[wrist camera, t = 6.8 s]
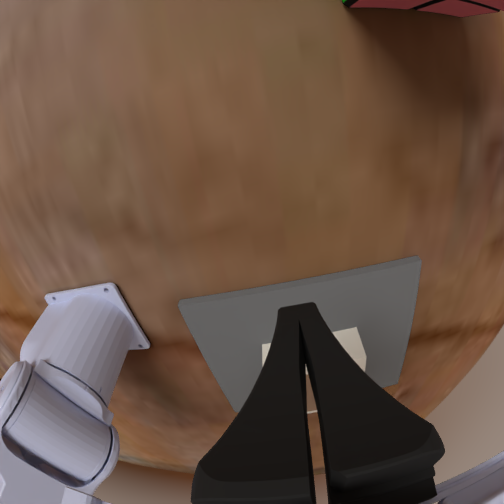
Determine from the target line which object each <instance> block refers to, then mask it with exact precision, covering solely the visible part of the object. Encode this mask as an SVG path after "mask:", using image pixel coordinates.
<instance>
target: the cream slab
mask: <svg viewBox="0 0 504 504" xmlns="http://www.w3.org/2000/svg"><path fill="white" fill-rule="evenodd" d="M332 333H333V334H334V336H335V337H336V338H337V340H338V341H339V343H340V344H341V345H342V347H343V348H344V349H345V350H346V352H347V353H348V354H349V355H350V356H351V358H352V359H353V360H354V361H355V362H356V363H357V364H358V365H359V367H360V368H361V369H362V370H363V371H364V372H365V367H366V354H365V351H364V348H363V345H362V342H361V339H360V336H359V333H358V330H357V327H354V328H350V329H345V330H340V331H335V332H332ZM270 345H271V343H268V344H262V364H263V365H264V362H265V360H266V357H267V355H268V352H269V349H270ZM306 389H307V413H313V412H317V408H316V404H315V400H314V395H313V391H312V387H311V383H310V379H309V375H308V371H307V367H306Z"/></svg>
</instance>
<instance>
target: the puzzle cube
mask: <svg viewBox="0 0 504 504" xmlns="http://www.w3.org/2000/svg"><path fill="white" fill-rule="evenodd" d="M342 2H343V4H344V5H346V6H347V7H349V8H354V7H371V8H396V9H411V8H414V9H415V10H418V11H427V12H434V13H441V14H447V15H452V16H457V17H467V16H473V15H479V14H487V13H495V12H499V11H500V10H502V11H504V0H342Z"/></svg>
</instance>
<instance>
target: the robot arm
mask: <svg viewBox="0 0 504 504" xmlns="http://www.w3.org/2000/svg"><path fill="white" fill-rule="evenodd" d="M106 288H107V289H108V290H107V289H106ZM45 300H46V302H47V303H48V306H47V308H46V309H45V311H44V312H43V314H42V315H41V316H40V318H39V319H38V321H37V322H36V324H35V325H34V327H33V328H32V330H31V331H30V333H29V334H28V336H27V338H26V339H25V341H24V343H23V345H22V348H21V353H20V361H18V362H15V363H14V364H13V365H12V366H11V367H10V368H9V369H8V371H7V372H6V373H5V375H4V376H3V378H2V379H1V381H0V504H112V503H108V502H105V501H102V500H101V499H98V498H96V497H94V496H92V495H93V494H94V492H95V490H96V489H97V487H98V486H99V485H100V484H101V483H102V482H103V480H105V479H106V478H107V477H108V476H109V475H110V474H111V473H112V471H113V470H114V468H115V466H116V463H117V461H118V457H119V452H120V443H119V435H118V432H117V430H116V428H115V427H114V426H113V425H112V424H111V422H112V419H113V416H114V414H113V413H112V412H110V411H109V410H108V409H107V408H108V405H109V402H110V399H111V396H112V393H113V391H114V388H115V385H116V382H117V379H118V376H119V374H120V371H121V368H122V365H123V363H124V360H125V357H126V355H127V352H128V350H136V349H148V348H149V347H150V342H149V341H148V339H147V338H146V336H145V334H144V333H143V331H142V329H141V328H140V326H139V325H138V323H137V321H136V320H135V318H134V316H133V315H132V313H131V311H130V309H129V308H128V306H127V304H126V302H125V301H124V299H123V297H122V295H121V293H120V292H119V290H118V288H117V286H116V285H115V284H114V283H105V284H99V285H94V286H88V287H83V288H77V289H72V290H66V291H61V292H55V293H49V294H46V296H45ZM306 367H307V371H308V375H309V379H310V383H311V387H312V391H313V395H314V400H315V404H316V408H317V412H318V417H319V423H320V431H321V439H322V447H323V455H324V464H325V473H326V483H327V493H328V504H433V503H435V502H438V501H439V502H438V504H504V451H502V452H501V453H499V454H497V455H496V456H494V457H492V458H491V459H489V460H487V461H485V462H483V463H481V464H480V465H478V466H476V467H474V468H472V469H470V470H468V471H466V472H464V473H462V474H460V475H458V476H456V477H453V478H451V479H449V480H447V481H444V482H442V483H440V484H437V485H435V483H434V479H433V476H435V470H434V467H433V465H434V464H435V463H436V462H437V461H438V460H440V459H441V458H442V456H443V455H444V453H445V449H444V445H443V442H442V440H441V438H440V436H439V434H438V432H437V431H436V429H435V427H434V426H433V425H432V424H431V423H429V422H428V421H426V420H424V419H423V418H421V417H419V416H418V415H416V414H415V413H413V412H412V411H410V410H409V409H408V408H406V407H405V406H404V405H402V404H401V403H399V402H398V401H397V400H396V399H394V398H393V397H392V396H391V395H390V394H388V393H387V392H386V391H385V390H384V389H382V388H381V387H380V386H379V385H378V384H377V383H376V382H375V381H373V380H372V379H371V378H370V377H369V376H368V375H367V374H366V373H365V372H364V371H363V370H362V369H361V368H360V367H359V365H358V364H357V363H356V362H355V361H354V360H353V359H352V358H351V356H350V355H349V354H348V353H347V352H346V350H345V349H344V348H343V347H342V345H341V344H340V343H339V341H338V340H337V338H336V337H335V336H334V334H333V333H332V332H331V330H330V329H329V327H328V326H327V324H326V322H325V321H324V319H323V317H322V316H321V314H320V312H319V310H318V308H317V305H316V303H314V302H309V303H303V304H297V305H292V306H286V307H280V308H279V309H278V315H277V322H276V327H275V331H274V335H273V339H272V342H271V345H270V349H269V352H268V355H267V357H266V360H265V362H264V365H263V367H262V370H261V372H260V375H259V377H258V379H257V381H256V383H255V385H254V387H253V389H252V391H251V393H250V395H249V396H248V398H247V400H246V402H245V403H244V405H243V407H242V408H241V410H240V412H239V413H238V415H237V416H236V418H235V419H234V420H233V422H232V423H231V425H230V426H229V427H228V429H227V430H226V431H225V433H224V434H223V435H222V437H221V438H220V439H219V440H218V441H217V443H216V444H215V445H214V446H213V447H212V448H211V449H210V450H209V451H208V453H207V454H206V455H205V456H204V457H203V458H202V459H201V460H200V461H199V463H198V465H197V468H196V471H195V475H194V478H193V483H192V492H191V502H192V504H316V495H315V485H314V475H313V465H312V456H311V447H310V438H309V429H308V419H307V389H306ZM16 443H17V444H16ZM31 453H32V454H31ZM440 500H441V501H440Z"/></svg>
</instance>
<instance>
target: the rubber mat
mask: <svg viewBox="0 0 504 504" xmlns="http://www.w3.org/2000/svg"><path fill="white" fill-rule="evenodd" d="M421 261H422V260H421V259H420V258H419V257H418V255H417V256H413V257H408V258H404V259H399V260H395V261H390V262H385V263H381V264H376V265H371V266H367V267H362V268H357V269H352V270H347V271H342V272H337V273H332V274H327V275H322V276H317V277H311V278H306V279H301V280H296V281H290V282H285V283H279V284H274V285H268V286H262V287H257V288H251V289H245V290H239V291H233V292H227V293H221V294H215V295H208V296H202V297H195V298H189V299H182V300H180V301H179V304H178V308H179V310H180V312H181V314H182V316H183V318H184V320H185V322H186V324H187V326H188V328H189V330H190V332H191V334H192V336H193V338H194V339H195V341H196V343H197V345H198V347H199V349H200V351H201V353H202V355H203V357H204V358H205V360H206V362H207V364H208V366H209V368H210V369H211V371H212V373H213V375H214V377H215V378H216V380H217V382H218V384H219V385H220V387H221V389H222V391H223V392H224V394H225V396H226V398H227V399H228V401H229V403H230V404H231V406H232V408H233V409H234V411H235V412H240V410H241V408H242V407H243V405H244V403H245V402H246V400H247V398H248V396H249V395H250V393H251V391H252V389H253V387H254V385H255V383H256V381H257V379H258V377H259V375H260V372H261V370H262V367H263V364H262V344H268V343H271V342H272V339H273V335H274V331H275V327H276V322H277V315H278V309H279V308H280V307H286V306H292V305H297V304H303V303H309V302H314V303H316V305H317V308H318V310H319V312H320V314H321V316H322V317H323V319H324V321H325V322H326V324H327V326H328V327H329V329H330V330H331V332H335V331H340V330H345V329H350V328H354V327H357V330H358V333H359V336H360V339H361V342H362V345H363V348H364V351H365V354H366V367H365V373H366V374H367V375H368V376H369V377H370V378H371V379H372V380H373V381H375V382H376V383H377V384H378V385H379V386H380V387H381V388H383V387H387V386H391V385H394V384H398V380H399V377H400V373H401V369H402V365H403V362H404V358H405V353H406V349H407V345H408V340H409V336H410V331H411V326H412V321H413V316H414V310H415V305H416V299H417V292H418V285H419V278H420V270H421Z"/></svg>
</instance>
